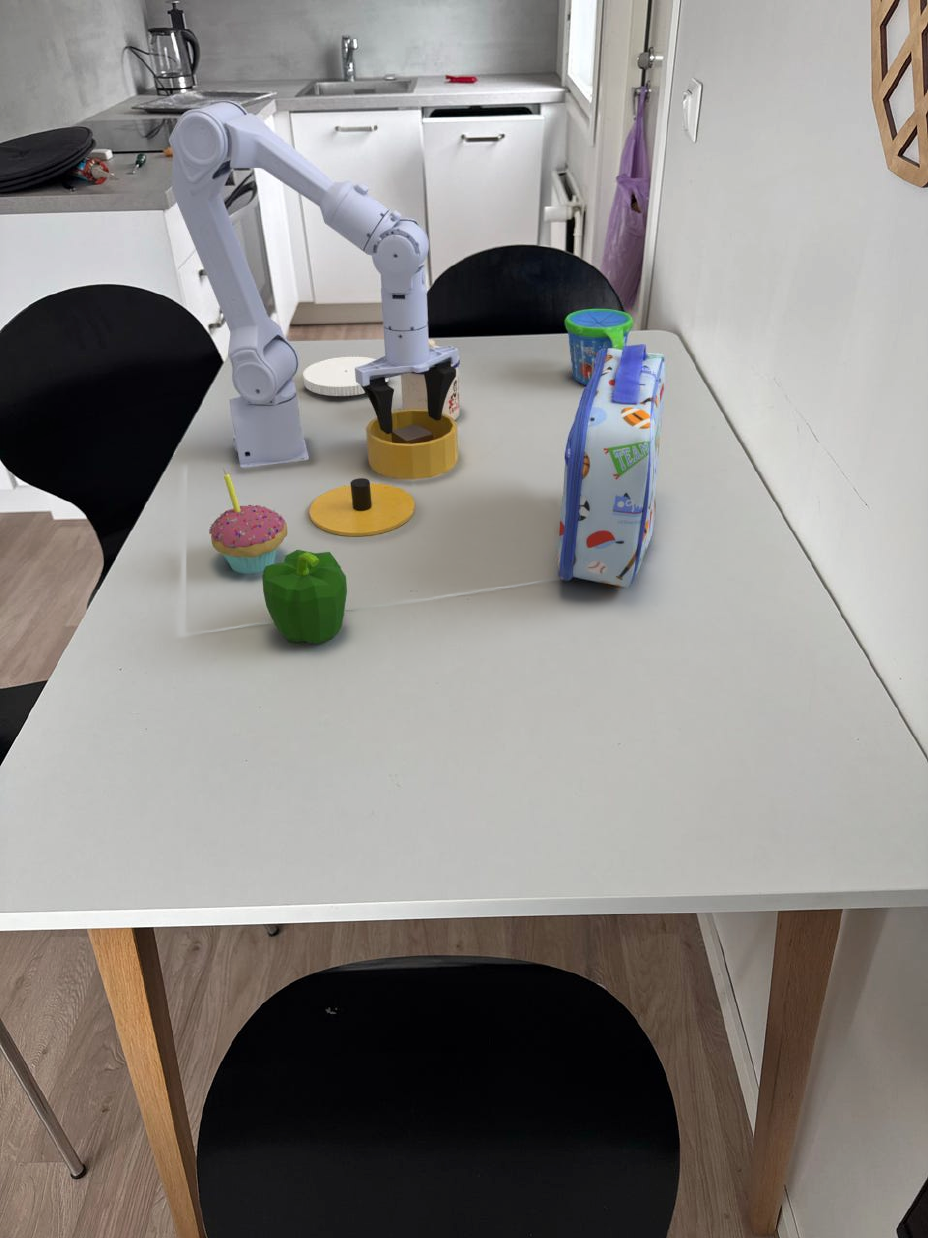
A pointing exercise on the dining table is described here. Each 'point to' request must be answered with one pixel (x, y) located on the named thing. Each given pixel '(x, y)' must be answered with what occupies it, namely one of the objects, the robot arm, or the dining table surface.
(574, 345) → the snack cup
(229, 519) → the cupcake
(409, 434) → the walnut block
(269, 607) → the bell pepper
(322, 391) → the plastic lid
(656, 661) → the dining table surface
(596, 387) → the lunch box
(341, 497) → the tin lid
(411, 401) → the teacup with lid
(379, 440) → the tin
